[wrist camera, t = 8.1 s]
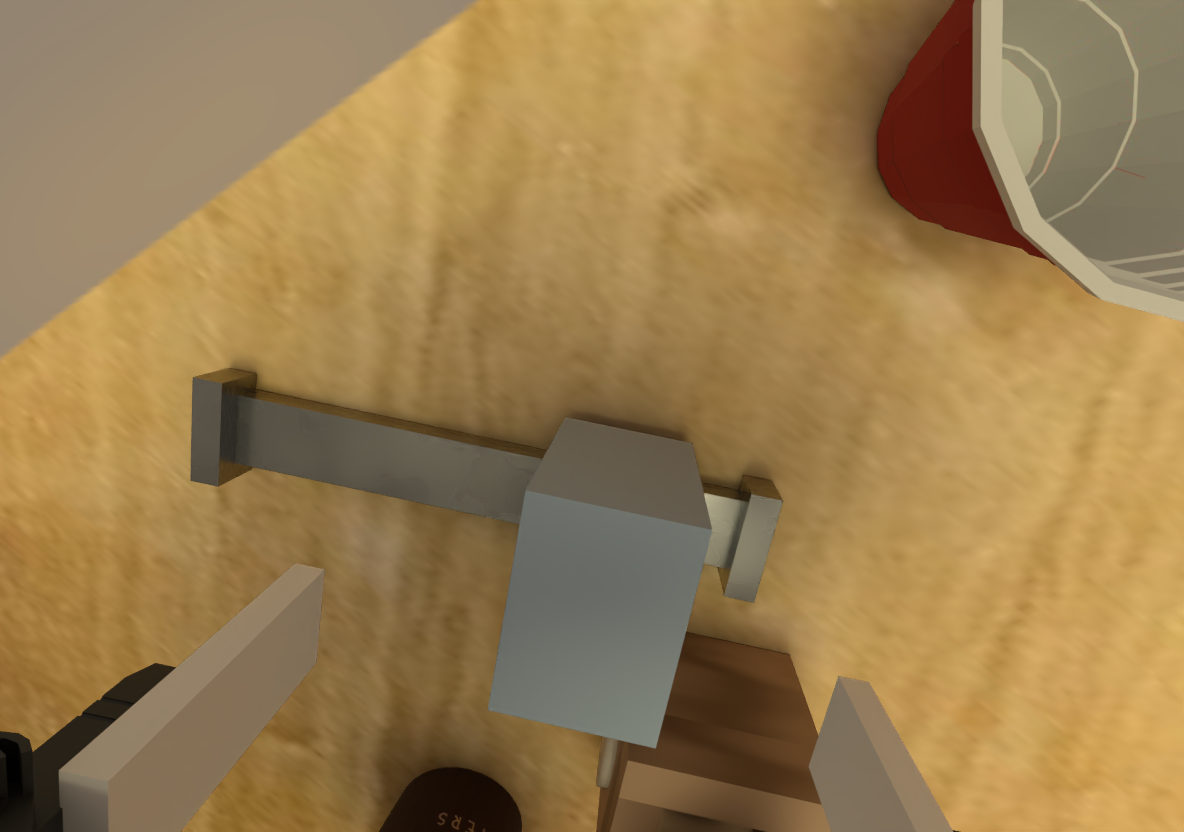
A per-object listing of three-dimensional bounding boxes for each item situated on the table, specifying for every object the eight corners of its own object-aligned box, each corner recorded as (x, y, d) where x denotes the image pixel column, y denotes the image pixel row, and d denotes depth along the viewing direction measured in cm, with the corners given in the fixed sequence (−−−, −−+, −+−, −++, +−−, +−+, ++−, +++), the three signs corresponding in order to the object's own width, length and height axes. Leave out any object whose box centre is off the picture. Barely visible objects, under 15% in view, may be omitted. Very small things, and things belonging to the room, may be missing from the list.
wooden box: (596, 746, 29) (576, 919, 22) (625, 618, 28) (615, 757, 20) (750, 781, 29) (786, 970, 21) (789, 654, 27) (844, 810, 20)
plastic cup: (1089, 303, 23) (1543, 347, 11) (789, 287, 24) (923, 312, 12) (1172, -35, 20) (1881, -437, 9) (831, -40, 21) (1055, -414, 9)
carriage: (541, 562, 27) (487, 710, 18) (569, 409, 25) (525, 490, 16) (653, 586, 27) (655, 748, 18) (690, 434, 25) (712, 529, 16)
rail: (225, 463, 28) (190, 480, 25) (229, 368, 26) (192, 377, 24) (745, 575, 27) (753, 602, 24) (772, 480, 26) (783, 500, 23)
